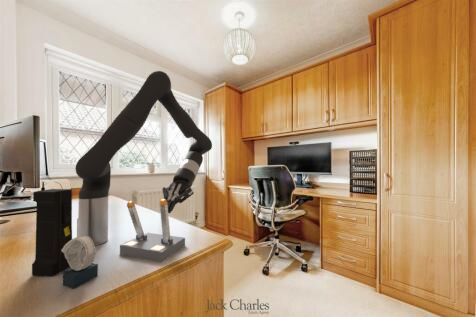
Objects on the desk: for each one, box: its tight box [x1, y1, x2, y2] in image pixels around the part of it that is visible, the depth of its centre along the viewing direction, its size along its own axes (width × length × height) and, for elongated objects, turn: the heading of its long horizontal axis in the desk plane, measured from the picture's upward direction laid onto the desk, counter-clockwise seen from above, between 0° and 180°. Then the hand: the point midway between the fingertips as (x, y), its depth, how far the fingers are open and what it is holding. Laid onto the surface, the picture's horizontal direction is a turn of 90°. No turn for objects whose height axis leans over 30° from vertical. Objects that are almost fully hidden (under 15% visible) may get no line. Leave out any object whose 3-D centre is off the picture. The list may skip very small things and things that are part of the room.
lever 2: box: [159, 198, 171, 243], centre depth 64 cm, size 2×2×14 cm
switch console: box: [119, 232, 186, 263], centre depth 66 cm, size 17×12×4 cm
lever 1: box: [126, 200, 145, 239], centre depth 66 cm, size 2×2×14 cm
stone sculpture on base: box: [62, 236, 99, 289], centre depth 49 cm, size 6×8×11 cm
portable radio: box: [31, 181, 73, 278], centre depth 54 cm, size 8×6×25 cm
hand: (166, 211), depth 65 cm, fingers closed
